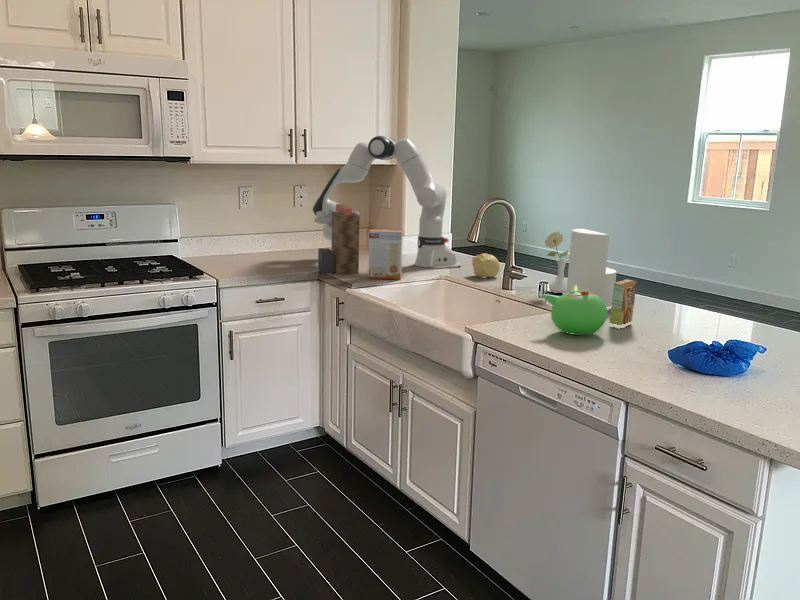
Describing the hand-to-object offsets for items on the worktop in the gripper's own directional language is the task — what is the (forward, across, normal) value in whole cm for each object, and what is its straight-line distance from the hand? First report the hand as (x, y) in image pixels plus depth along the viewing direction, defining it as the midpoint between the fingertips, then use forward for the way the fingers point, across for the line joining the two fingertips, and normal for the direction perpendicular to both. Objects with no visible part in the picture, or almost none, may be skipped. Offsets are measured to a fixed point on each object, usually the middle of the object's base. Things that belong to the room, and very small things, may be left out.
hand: (340, 210), depth 310 cm
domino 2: (-3, -9, +29) cm, 30 cm away
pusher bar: (+6, 0, +4) cm, 7 cm away
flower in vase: (+45, +76, +58) cm, 106 cm away
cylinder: (+64, +77, +69) cm, 122 cm away
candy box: (+89, +71, +83) cm, 141 cm away
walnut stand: (-4, 0, +29) cm, 29 cm away
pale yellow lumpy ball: (+14, +60, +40) cm, 73 cm away
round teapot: (+94, +51, +86) cm, 137 cm away
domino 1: (-6, -9, +27) cm, 29 cm away
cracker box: (+12, +14, +38) cm, 42 cm away
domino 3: (0, -9, +31) cm, 32 cm away
